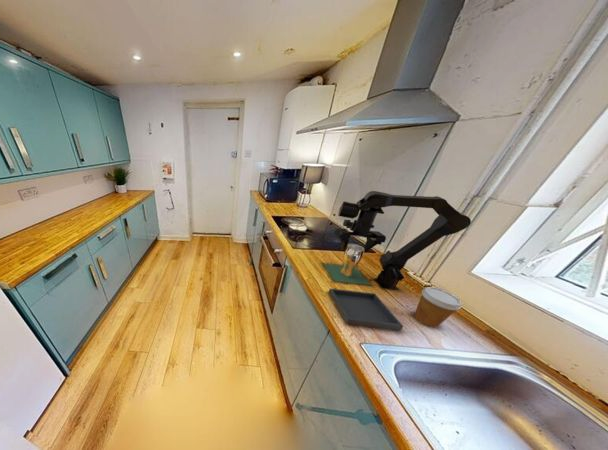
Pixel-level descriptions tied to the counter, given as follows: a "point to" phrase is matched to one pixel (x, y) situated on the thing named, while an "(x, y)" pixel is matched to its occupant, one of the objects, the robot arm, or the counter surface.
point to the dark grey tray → (364, 310)
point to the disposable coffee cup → (436, 306)
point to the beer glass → (351, 259)
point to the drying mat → (337, 277)
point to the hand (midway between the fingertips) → (353, 251)
